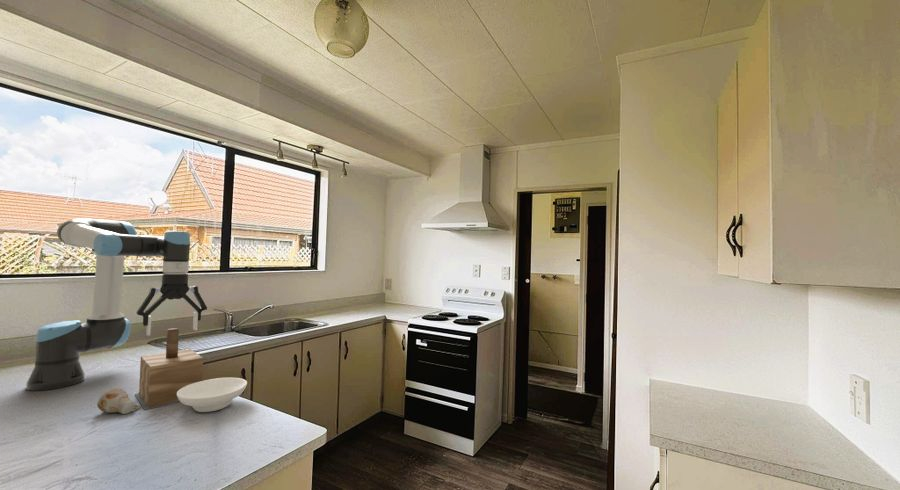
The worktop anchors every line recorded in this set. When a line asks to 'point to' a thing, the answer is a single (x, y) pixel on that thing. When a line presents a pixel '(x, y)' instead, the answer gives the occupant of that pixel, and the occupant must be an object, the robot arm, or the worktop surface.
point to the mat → (152, 406)
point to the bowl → (211, 393)
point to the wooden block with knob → (168, 372)
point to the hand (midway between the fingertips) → (172, 332)
